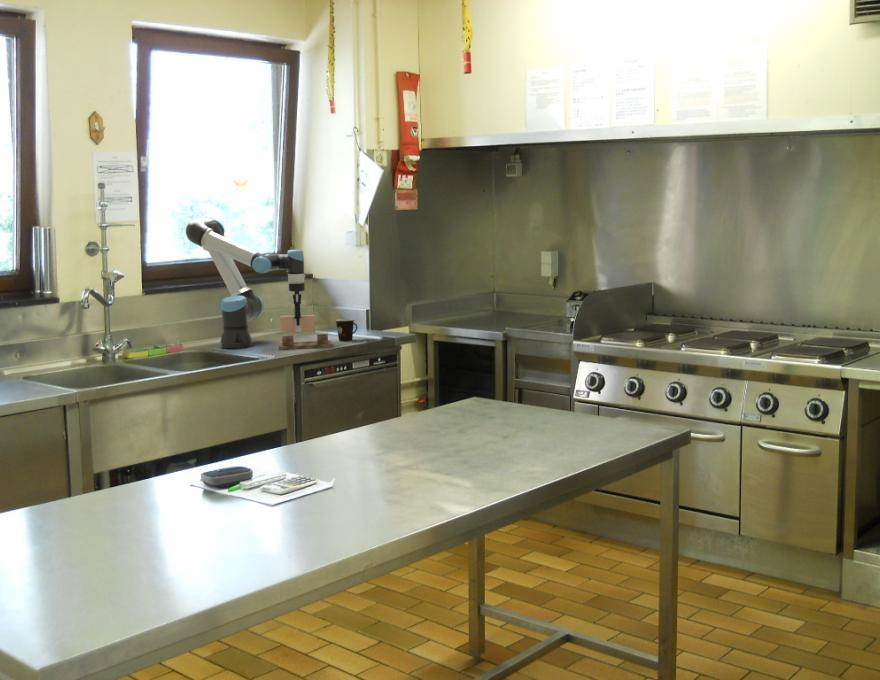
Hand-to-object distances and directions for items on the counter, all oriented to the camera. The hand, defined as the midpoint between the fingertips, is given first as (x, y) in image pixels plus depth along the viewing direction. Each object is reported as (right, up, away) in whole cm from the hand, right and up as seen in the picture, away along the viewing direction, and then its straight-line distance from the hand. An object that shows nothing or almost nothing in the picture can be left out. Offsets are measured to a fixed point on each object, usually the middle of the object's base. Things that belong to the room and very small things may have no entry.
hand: (298, 331), depth 490 cm
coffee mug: (+23, -5, +2) cm, 23 cm away
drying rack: (+5, -7, -12) cm, 15 cm away
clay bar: (0, -1, 0) cm, 0 cm away
